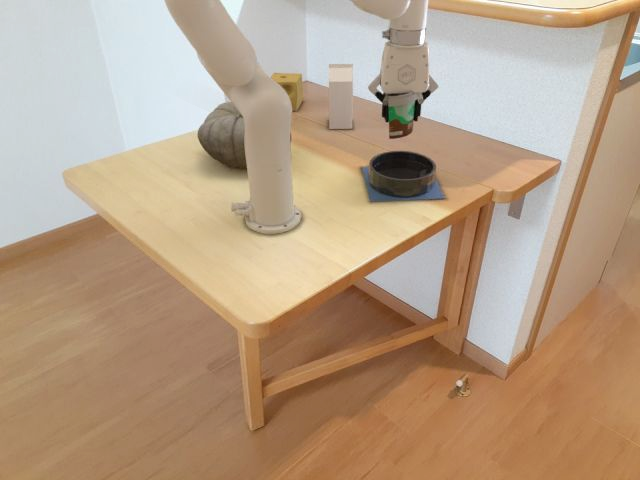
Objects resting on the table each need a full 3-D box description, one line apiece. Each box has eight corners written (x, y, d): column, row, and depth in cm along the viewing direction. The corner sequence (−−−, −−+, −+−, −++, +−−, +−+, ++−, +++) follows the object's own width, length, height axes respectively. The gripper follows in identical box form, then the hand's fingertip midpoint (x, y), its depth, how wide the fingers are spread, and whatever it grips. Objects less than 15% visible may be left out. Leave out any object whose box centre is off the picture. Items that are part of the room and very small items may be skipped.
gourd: (210, 180, 127) (205, 109, 120) (191, 157, 147) (186, 95, 140) (304, 171, 136) (304, 104, 129) (274, 150, 157) (272, 91, 150)
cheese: (268, 110, 173) (265, 81, 167) (275, 99, 182) (273, 71, 176) (298, 112, 172) (297, 82, 166) (304, 100, 180) (303, 72, 175)
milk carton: (352, 129, 159) (353, 67, 148) (329, 129, 159) (328, 67, 148) (351, 120, 165) (352, 60, 154) (329, 121, 165) (328, 60, 154)
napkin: (370, 201, 122) (370, 200, 122) (361, 167, 137) (361, 166, 137) (444, 198, 123) (445, 197, 123) (427, 165, 138) (428, 164, 138)
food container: (417, 141, 112) (418, 96, 107) (388, 141, 113) (388, 97, 108) (418, 120, 122) (419, 78, 117) (392, 120, 123) (392, 79, 118)
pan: (373, 200, 123) (374, 181, 120) (364, 169, 137) (365, 151, 134) (440, 197, 124) (443, 179, 121) (425, 166, 137) (427, 149, 134)
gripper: (367, 42, 103) (364, 127, 113) (452, 39, 103) (442, 124, 113) (363, 33, 109) (360, 115, 119) (443, 30, 109) (434, 112, 120)
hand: (400, 119), depth 116 cm, fingers closed on food container, 5 cm apart
